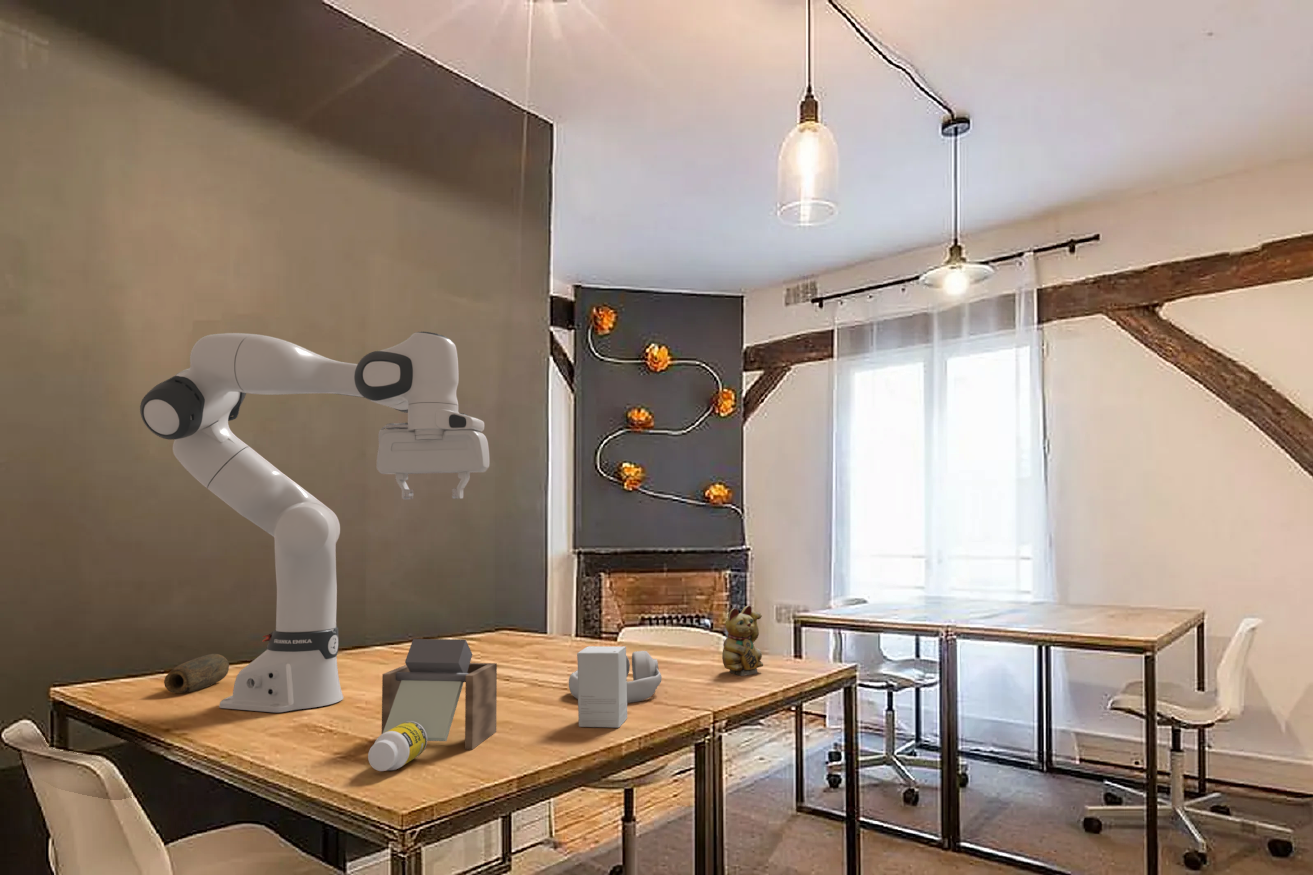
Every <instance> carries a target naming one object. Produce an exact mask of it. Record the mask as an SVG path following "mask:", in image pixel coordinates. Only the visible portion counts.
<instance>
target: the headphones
mask: <svg viewBox="0 0 1313 875" xmlns="http://www.w3.org/2000/svg"><path fill="white" fill-rule="evenodd" d="M630 665H631V666H630ZM630 668H632V669H631V670H632V671H631V672H632V678H633V680H630V681H627V704H630V703H638V702H642V701H646V700H647V699H650V698H651V697H652V696H654V695H655V692H656V690H657V688H658V686H660V684H661V683H662V680H663V679H662V674H661V672H660V670H659V662H658V659H657V658H653V657H652V655H650V653H649V652H648V651H647V650H639V651H637V650H636V651H633V652H632V654H631V664H630V659H629V657H628V655H627V654H626V672H627V677H628V675H629V673H630ZM568 688H569V691H570V694H571V695H572V696H573V697H574V698H575V699H577V700H578V669H577V670H576V671H574V672H572V673H570V675H569V678H568Z"/></svg>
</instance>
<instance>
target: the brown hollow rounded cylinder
mask: <svg viewBox="0 0 1313 875" xmlns="http://www.w3.org/2000/svg"><path fill="white" fill-rule="evenodd" d="M229 669H230V664H229V660H228V659H227V658H226V657H225V656H224V655H222V654H219V653H210V654H206V655H202V656H199V657H195V658H192V659H190V660H188V661H185V662H183V663H180V664H178V665H177V666H175V667H173V668H172V669H171V670H170V671H169V672H168V673H167V674H166V676H164V680H163V685H164V687H165V688H166V690H167V691H169V692H170V693H175V694H181V693H190V692H194V691H199V690H201V689H204V688H207V687H211V686H212V685H214V684H217V683H219V682H221V681H222V680H223V679H225V678H226V676H227V675H228V673H229Z"/></svg>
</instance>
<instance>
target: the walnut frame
mask: <svg viewBox="0 0 1313 875" xmlns="http://www.w3.org/2000/svg"><path fill="white" fill-rule="evenodd" d="M497 666H498V664H497V663H492V662H490V663H489V662H487V663H486V662H483V663H482V662H470V664H469V668H468V671H467V673H469V674H468V675H466V682H465V695H464V696H465V699H464V701H465V707H464V708H465V711H464V718H465V719H464V722H465V724H464V730H465V731H464V749H465V750H471V751H472V750H474V749H475V748H476V747H478V746H479V745H481V744H482V743H483V742H485V741H487V739H488V738H490V737H491V736H493V735H494V734H495V733H496V732H497V694H498V693H497V685H498V684H497V679H498V678H497V677H498V676H497V675H498V674H497V673H498V672H497V671H498V667H497ZM397 672H410V671H409V669H408V667H407V665H406V664H405V665H402V666H399V667H397V668H394V669H392V670H390V671H386V672H384V673H382V678H381V679H382V681H381V682H382V683H381V684H382V685H381V690H382V691H381V693H382V694H381V735H382V734H383V731H384V728H385V725H386V723H387V720H388V717H389V714H390V711H391V709H392V706H393V703H394V700H395V697H396V694H397V692H398V689H399V686H400V683H401V681H396V673H397Z"/></svg>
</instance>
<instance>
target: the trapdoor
mask: <svg viewBox="0 0 1313 875" xmlns="http://www.w3.org/2000/svg"><path fill="white" fill-rule="evenodd" d="M472 657H473V652H472V650H471V648H470V646H469V644H468V641H467V640H466V639H463V638H462V639H460V638H459V639H456V638H453V639H451V638H449V639H448V638H447V639H446V638H445V639H443V638H440V639H439V638H437V639H436V638H434V639H433V638H430V639H429V638H413V639H412V640H411V644H410V647H409V650H408V652H407V656H406V658H405V660H404V664H405V665H407V667H408V669H409V671H410V672H397V673H396V681H401V683H400V686H399V689H398V692H397V694H396V697H395V700H394V703H393V706H392V709H391V711H390V714H389V717H388V720H387V723H386V725H385V728H384V731H383V733H385V732H387V731H389V730H391V729H392V728H394V727H396V726H398V725H400V724H402V723H404V722H407V721H413V722H417V723H419V724H420V725H421V726H422V727H423V728H424V729H425V731H426V734H427V742H429V741H430V742H447V740H448V737H449V733H450V732H451V731H450V730H451V726H452V723H453V721H454V720H453V719H454V716H455V713H456V710H457V706H458V702H459V699H460V696H461V694H462V690H463V686H464V683H466V675H468V674H469V673H467V671H468V668H469V664H470V663H471V661H472Z"/></svg>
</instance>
